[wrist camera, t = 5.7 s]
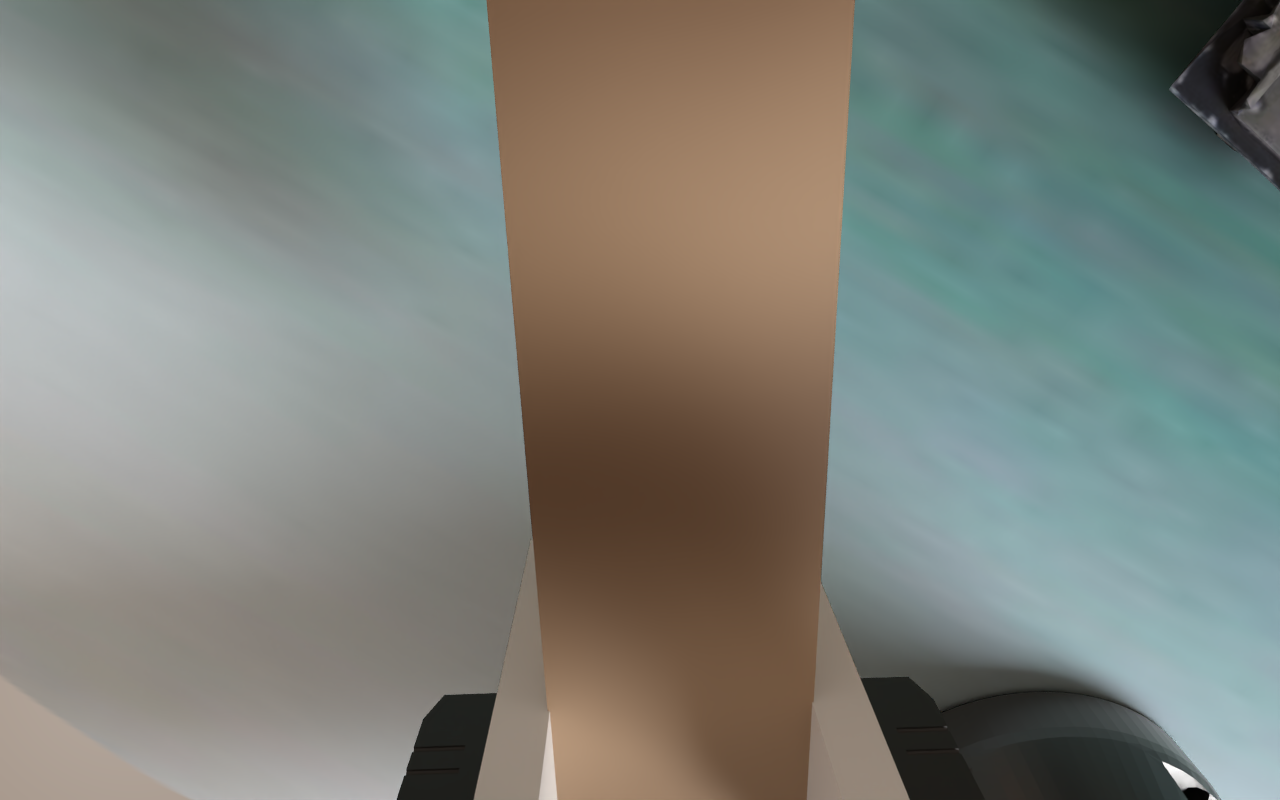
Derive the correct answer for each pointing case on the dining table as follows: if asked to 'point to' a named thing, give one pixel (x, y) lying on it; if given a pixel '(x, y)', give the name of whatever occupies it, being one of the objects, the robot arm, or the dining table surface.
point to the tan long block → (675, 374)
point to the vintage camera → (1241, 84)
